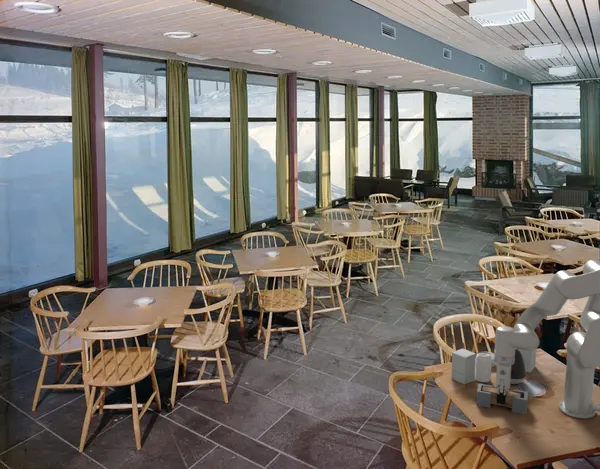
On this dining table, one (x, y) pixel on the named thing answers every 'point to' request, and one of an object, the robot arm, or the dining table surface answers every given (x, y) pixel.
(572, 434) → the dining table surface
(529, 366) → the small box
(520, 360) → the dark grey egg shape
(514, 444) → the dining table surface
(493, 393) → the slat
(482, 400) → the endcaps
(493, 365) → the ramekin
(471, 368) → the supplement box
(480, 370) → the can
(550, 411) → the dining table surface
